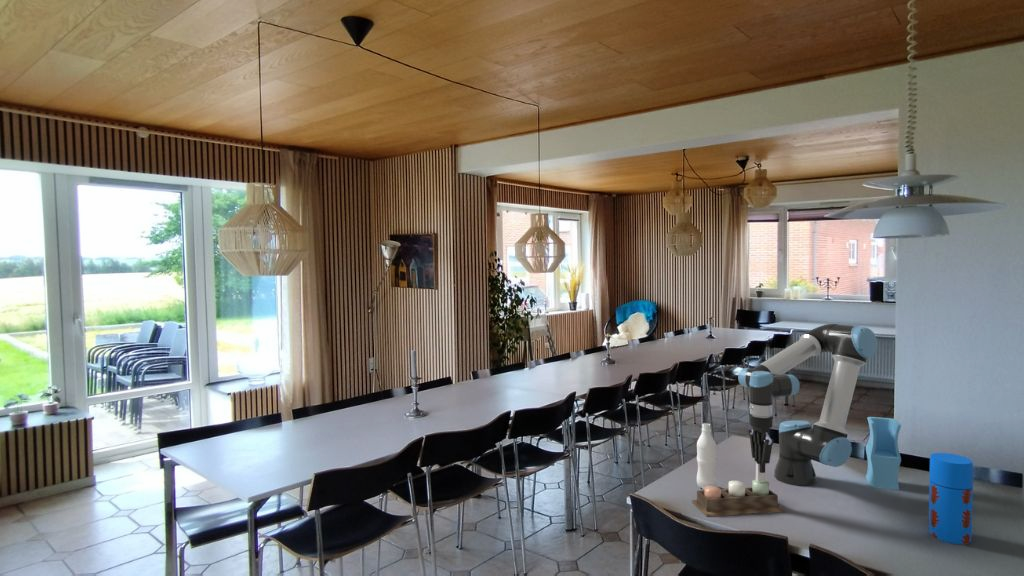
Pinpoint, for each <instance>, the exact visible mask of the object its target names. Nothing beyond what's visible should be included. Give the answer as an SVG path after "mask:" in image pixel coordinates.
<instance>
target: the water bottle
mask: <svg viewBox="0 0 1024 576" xmlns="http://www.w3.org/2000/svg"><path fill="white" fill-rule="evenodd" d="M701 426H702V427H701V434H700V436H699V438H698V439H697V441H696V453H697V454H696V461H697V473H696V484H697V486H698V487H699V489H701V488H702V489H701V490H705V487H706V486H716V485H717V476H716V463H717V444H716V441H715V438H714V437H713V436H712V428H711V424H710V423H708V422H704V423H702V425H701ZM716 487H717V486H716Z"/></svg>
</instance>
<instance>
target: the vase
mask: <svg viewBox="0 0 1024 576" xmlns="http://www.w3.org/2000/svg"><path fill="white" fill-rule="evenodd" d="M866 418H867V421H868V422H867V423H868V426H869V438H868V441H867V443H866V447H865V453H866V458H867V459H866V460H867V471H866V475H865V480H866V482H867V483H868V485H869V486H870V487H872V488H877V489H886V490H892V491H893V490H895V491H898V490H900V485H899V476H898V475H899V469H900V466H901V463H902V457H901V454H900V450H899V445H898V439H899V433H900V430H901V428H902V424H901V423H900V422H899V420H897V419H895V418H891V417H877V416H868V417H866Z"/></svg>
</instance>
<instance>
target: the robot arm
mask: <svg viewBox="0 0 1024 576" xmlns="http://www.w3.org/2000/svg"><path fill="white" fill-rule="evenodd" d="M878 345H879V344H878V339H877V337H876V334H875V332H874V331H873V330H872V329H870V328H869V327H865V326H859V325H852V324H851V325H850V324H849V325H848V324H840V323H839V324H838V323H827V324H823V325H820V326H818V327H815V328H813V329H811V330H809V331H807V332H805V333H803V334H802V335H801V336H800V337H799V340H797V341H795V342H793V344H791V345H789V346H787V347H786V348H784V349H783V350H780V351H779V352H778V353H775V355H772V356H771V357H770V358H768V359H767V360H765V361H763V362H761V363H760V364H758V365H756V366H755V367H753V368H751V367H745V368H742V369H740V371H739V372H738V377H737V378H738V383H739V384H740V386H742V387H743V388H744V387H745V388H747V389H749V407H748V408H749V414H750V415H749V425H750V427H752V429H748V436H749V442H750V449H751V452H750V453H751V457H752V459H754V461H755V479H756V480H757V481H765V480H766V465H767V464H770V462H771V454H772V449H773V445H774V442H775V440H774V439H773V438H771V437H770V435H771V434H770V429H771V428H772V427H773V413H774V412H773V411H774V410H773V409H774V408H773V407H774V406H773V402H774V401H773V400H774V399H773V398H780V397H790V396H794V395H796V394H797V393H799V391H800V381H799V379H798V378H797V377H796V376H794V375H793V374H786V372H789V371H790V370H791V369H794V368H795V367H796V366H798V365H800V364H801V363H803V362H804V361H806V360H807V359H810V358H811V357H817V356H819V355H821V354H824V353H825V354H826V353H829V354H831V353H832V354H831V357H832V358H833V360H834V363H833V366H832V371H831V375H830V379H829V383H828V385H827V386H828V387H827V390H826V394H825V398H824V402H823V406H822V410H821V412H820V413H821V414H820V417H819V420H818V421H817V422H813V425H812V422H811V421H806V420H786V421H782V422H781V423H780V424H779V427H778V428H779V429H778V460H777V463H776V465H775V468H774V470H773V471H774V472H773V473H774V474H773V475H774V478H775V479H776V480H778V481H780V482H783V483H786V484H789V485H796V486H811V485H814V484H816V483H817V474H816V472H815V468H814V465H813V462H812V461H814V462H817V463H820V464H822V465H824V466H829V467H833V468H839V467H841V466H843V465H844V464H846V463H847V462H848V460H849V459H850V457H851V455H852V452H853V447H852V442H851V441H850V440H849V439H848V435H849V433H848V431H846V423H847V420H848V416H849V412H850V407H851V405H852V400H853V396H854V392H855V389H856V384H857V380H858V376H859V372H860V368H861V367H863V366H865V365H866V364H867V361H868V359H869V360H870V359H872V358H873V357H874V356H875V355H876V354H877V352H878Z"/></svg>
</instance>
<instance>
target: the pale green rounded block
mask: <svg viewBox="0 0 1024 576" xmlns="http://www.w3.org/2000/svg"><path fill="white" fill-rule="evenodd" d="M751 482H752V485H751V486H752V492H753V493H754V494H755V495H757V496H762V495H769V490H770V482H769V481H768V480H766V479H765V481H757V480H756V478H755V479H752V480H751Z"/></svg>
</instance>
